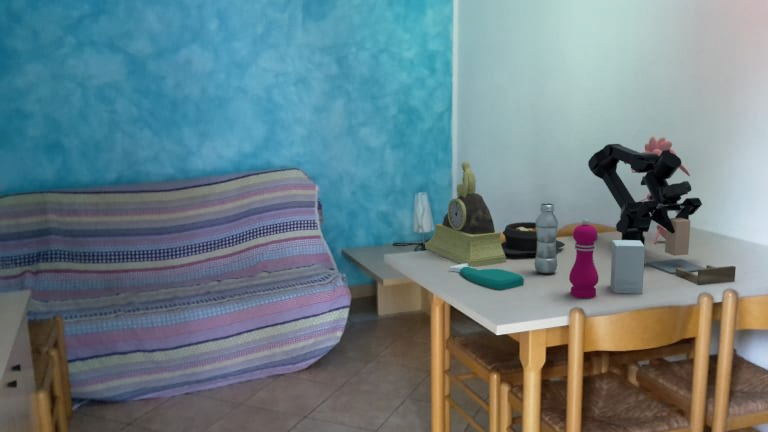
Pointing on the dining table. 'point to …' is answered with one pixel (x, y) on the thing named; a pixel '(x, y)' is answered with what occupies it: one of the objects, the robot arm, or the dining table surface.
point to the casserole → (522, 239)
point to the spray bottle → (490, 277)
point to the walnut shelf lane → (709, 275)
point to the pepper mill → (584, 262)
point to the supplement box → (627, 266)
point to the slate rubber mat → (674, 266)
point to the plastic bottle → (546, 239)
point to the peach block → (678, 237)
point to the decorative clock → (467, 228)
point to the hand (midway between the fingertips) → (680, 232)
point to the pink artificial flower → (657, 149)
